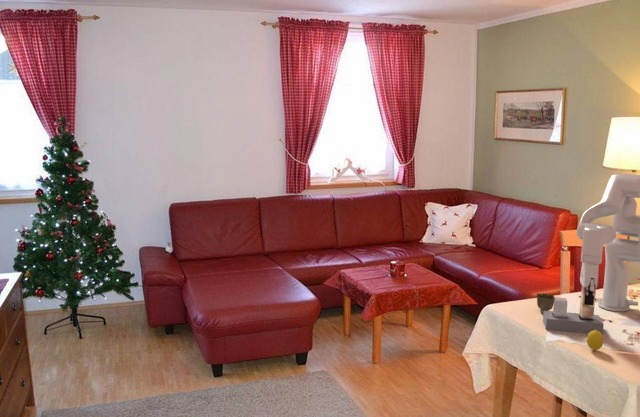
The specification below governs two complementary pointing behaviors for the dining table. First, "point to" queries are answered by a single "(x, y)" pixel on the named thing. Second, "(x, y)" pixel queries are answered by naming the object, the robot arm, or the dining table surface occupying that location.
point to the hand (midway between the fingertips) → (587, 302)
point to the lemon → (595, 340)
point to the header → (572, 323)
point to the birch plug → (586, 310)
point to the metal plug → (560, 307)
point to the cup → (545, 301)
